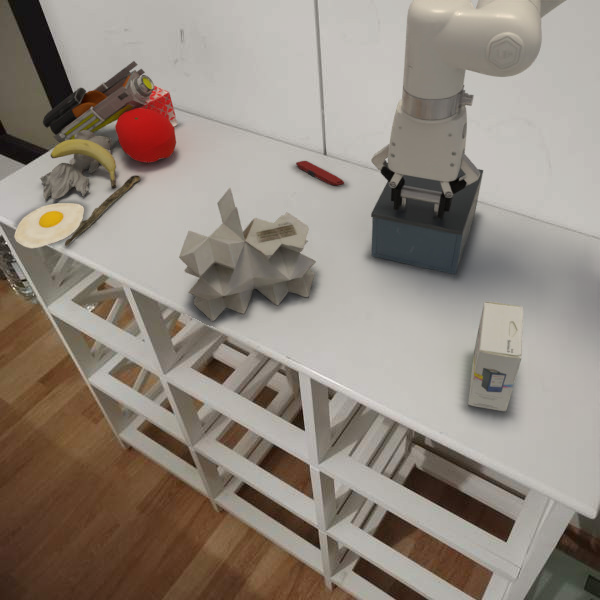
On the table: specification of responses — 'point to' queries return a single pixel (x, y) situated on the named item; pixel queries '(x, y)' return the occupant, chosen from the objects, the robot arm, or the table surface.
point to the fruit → (87, 154)
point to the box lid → (427, 205)
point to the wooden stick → (103, 207)
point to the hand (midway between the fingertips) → (420, 207)
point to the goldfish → (73, 169)
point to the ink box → (496, 356)
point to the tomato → (145, 135)
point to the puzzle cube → (161, 104)
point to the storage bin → (420, 243)
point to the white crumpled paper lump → (247, 261)
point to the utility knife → (319, 173)
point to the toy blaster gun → (99, 104)
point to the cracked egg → (49, 224)
